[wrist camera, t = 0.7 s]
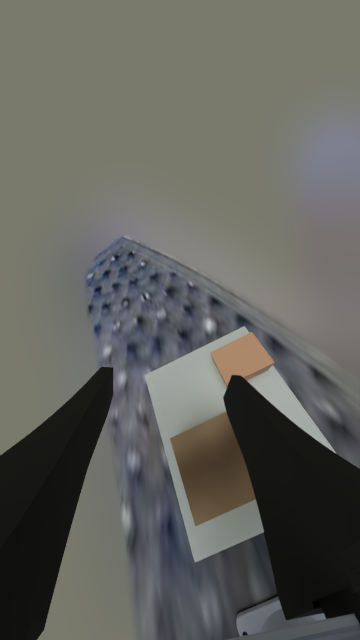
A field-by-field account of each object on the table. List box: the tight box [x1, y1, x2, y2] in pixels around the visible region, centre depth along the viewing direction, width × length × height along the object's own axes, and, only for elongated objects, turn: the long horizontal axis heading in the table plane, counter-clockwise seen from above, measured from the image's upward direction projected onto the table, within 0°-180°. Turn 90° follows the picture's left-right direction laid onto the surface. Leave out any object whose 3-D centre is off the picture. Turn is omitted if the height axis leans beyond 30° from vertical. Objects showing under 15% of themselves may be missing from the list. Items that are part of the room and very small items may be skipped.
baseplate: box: [145, 326, 336, 562], centre depth 22 cm, size 20×18×1 cm
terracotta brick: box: [210, 332, 274, 386], centre depth 22 cm, size 4×6×4 cm
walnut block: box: [170, 412, 256, 526], centre depth 19 cm, size 7×7×4 cm
